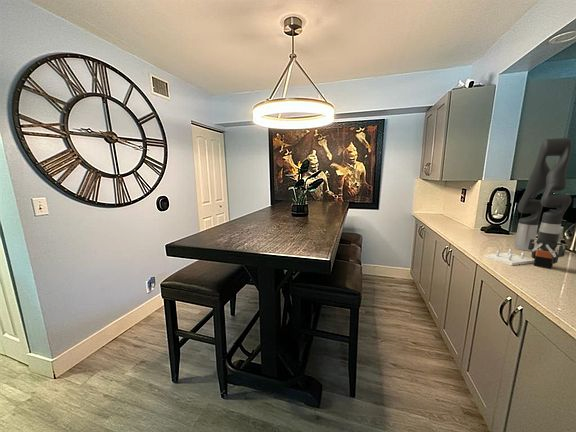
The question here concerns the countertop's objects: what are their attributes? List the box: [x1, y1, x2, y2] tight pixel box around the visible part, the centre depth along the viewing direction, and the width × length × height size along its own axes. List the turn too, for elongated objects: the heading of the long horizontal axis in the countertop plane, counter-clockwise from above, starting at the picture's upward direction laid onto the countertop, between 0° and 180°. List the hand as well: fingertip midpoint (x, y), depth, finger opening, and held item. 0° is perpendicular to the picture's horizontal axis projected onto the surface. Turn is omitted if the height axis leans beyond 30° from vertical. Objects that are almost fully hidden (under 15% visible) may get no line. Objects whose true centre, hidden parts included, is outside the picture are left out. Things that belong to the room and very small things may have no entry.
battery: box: [533, 248, 554, 270], centre depth 130 cm, size 4×7×10 cm, turn 46°
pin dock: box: [485, 248, 534, 266], centre depth 141 cm, size 18×14×5 cm
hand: (543, 260), depth 131 cm, fingers closed on battery, 8 cm apart
